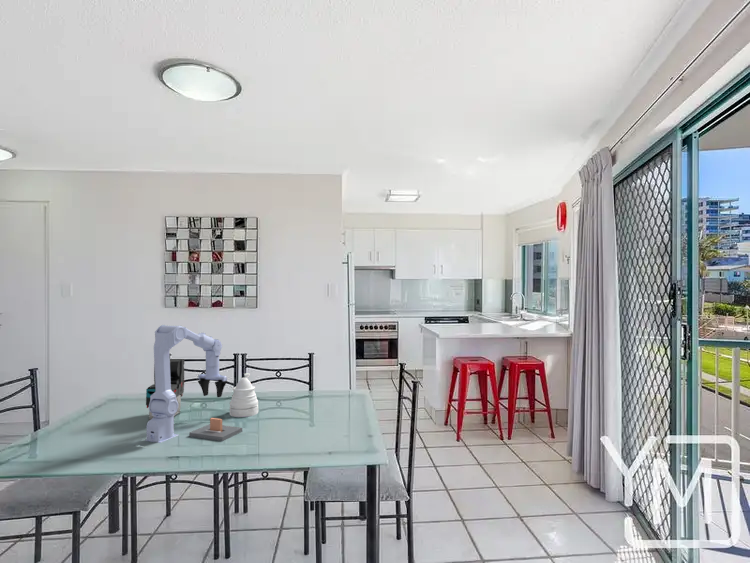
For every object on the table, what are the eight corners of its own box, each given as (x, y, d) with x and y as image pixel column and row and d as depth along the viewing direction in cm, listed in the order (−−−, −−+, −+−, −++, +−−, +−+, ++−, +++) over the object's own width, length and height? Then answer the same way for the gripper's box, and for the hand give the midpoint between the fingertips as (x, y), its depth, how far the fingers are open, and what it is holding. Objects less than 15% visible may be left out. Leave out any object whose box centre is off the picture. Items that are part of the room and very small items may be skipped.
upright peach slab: (220, 435, 182) (220, 419, 182) (210, 433, 184) (210, 418, 184) (222, 434, 183) (222, 419, 183) (212, 432, 185) (212, 417, 185)
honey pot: (244, 408, 224) (244, 370, 224) (264, 411, 217) (264, 373, 217) (223, 414, 213) (223, 375, 213) (243, 418, 206) (243, 378, 206)
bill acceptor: (144, 425, 196) (144, 367, 196) (161, 411, 219) (161, 358, 219) (170, 424, 198) (170, 366, 198) (185, 410, 220) (184, 357, 220)
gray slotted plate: (222, 442, 175) (222, 436, 175) (189, 437, 181) (189, 432, 181) (242, 432, 186) (242, 427, 186) (210, 428, 192) (210, 423, 192)
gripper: (231, 365, 207) (231, 395, 207) (205, 363, 213) (206, 392, 213) (220, 367, 201) (220, 399, 201) (194, 365, 206) (194, 396, 206)
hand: (212, 396), depth 206 cm, fingers open, 7 cm apart
